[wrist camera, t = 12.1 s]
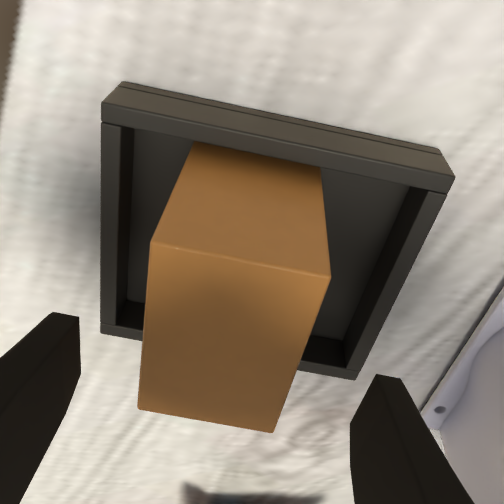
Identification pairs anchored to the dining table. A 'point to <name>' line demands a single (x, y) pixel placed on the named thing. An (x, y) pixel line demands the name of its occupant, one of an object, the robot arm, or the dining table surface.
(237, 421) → the packet
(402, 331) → the dining table surface
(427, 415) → the robot arm
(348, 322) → the tray
